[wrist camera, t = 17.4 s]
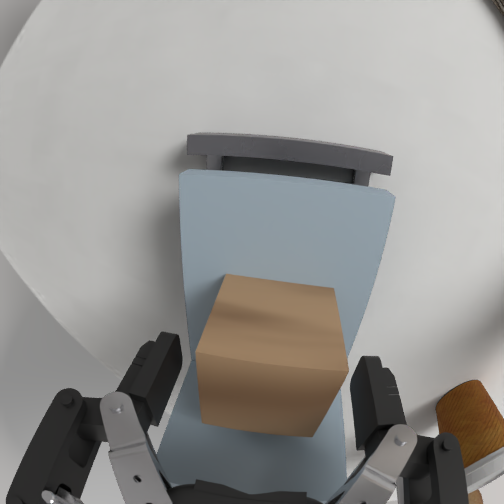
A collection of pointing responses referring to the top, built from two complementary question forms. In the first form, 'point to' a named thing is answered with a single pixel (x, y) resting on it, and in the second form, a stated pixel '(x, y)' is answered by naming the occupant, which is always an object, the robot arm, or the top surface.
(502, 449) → the disposable coffee cup
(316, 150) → the rails
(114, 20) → the top surface
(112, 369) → the top surface
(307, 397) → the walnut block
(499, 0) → the washcloth
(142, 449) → the robot arm
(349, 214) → the pale blue l-shaped block
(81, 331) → the top surface
